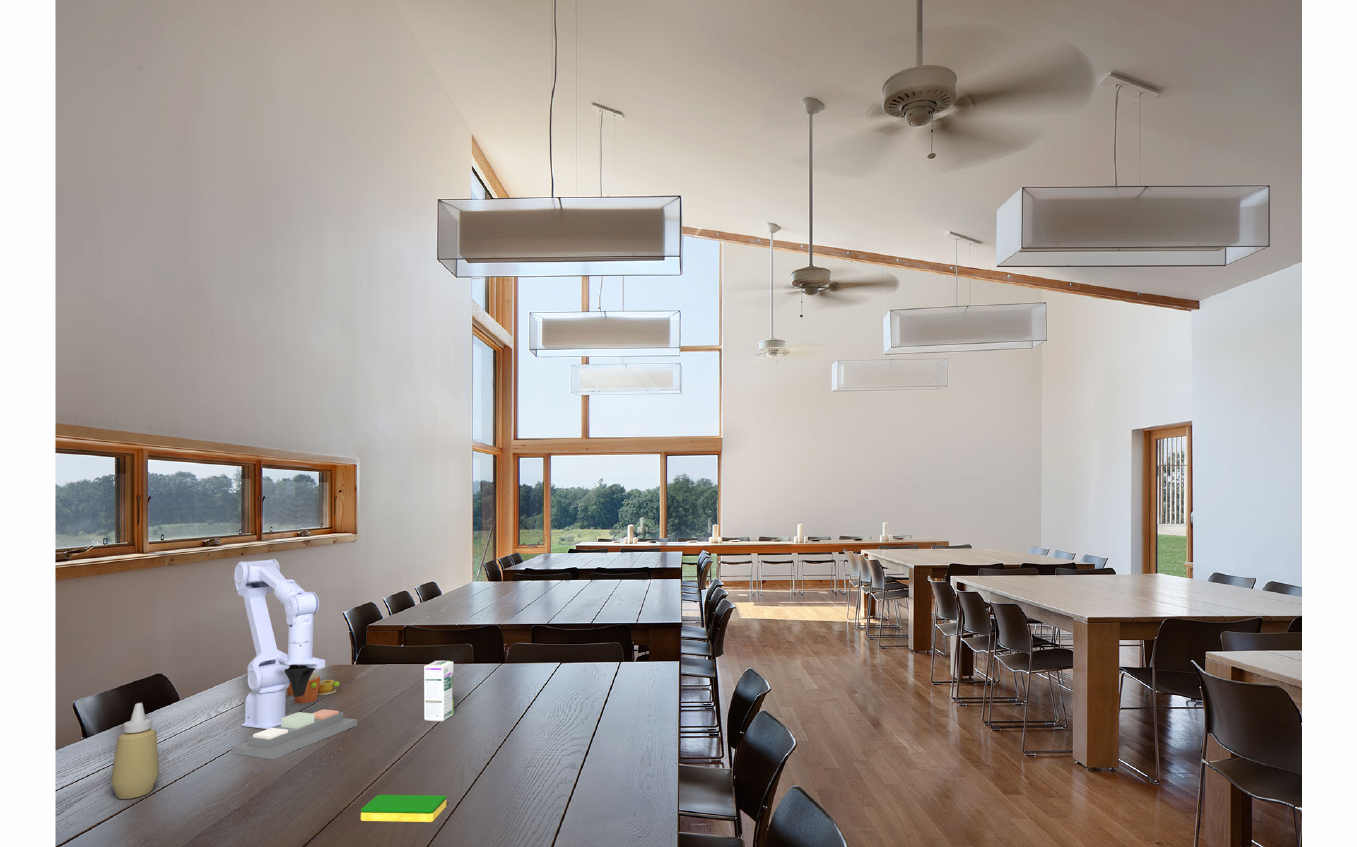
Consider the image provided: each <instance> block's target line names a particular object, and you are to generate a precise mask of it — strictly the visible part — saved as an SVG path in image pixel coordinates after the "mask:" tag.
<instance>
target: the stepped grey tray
mask: <svg viewBox="0 0 1357 847" xmlns="http://www.w3.org/2000/svg"><path fill="white" fill-rule="evenodd" d="M353 726H354V727H357V726H358V719H356V718H345V717H344V711H342V712H341V711H339V714H336V715H333V716H330V717H328V718H325V719H316V718H314V723H312V724H309V725H306V726H304V727H301V728H298V729H295V728H286V727H281V725H279V726H276V727H274V728H278V729H286V730H288V733H285V734H282V735H279V736H277V737H274V738H271V739H264V738H256V737H253V734H252V735H250V736H248V737H247V740H246V741H244V742H241V743H238V744H235V745H233V746H230V748H231V749H230V754H231V755H232V754H233V755H240V756H245V755H247V756H246V757H252V758H253V757H254V758H261V759H267V760H268V759H269V760H275V759H278V758H281V757H283V756H286V755H288V754H290V753H293V752H295V751H297V749H298V750H300V749H302V748H305V747H307V746H310V745H312V744H315V743H317V742H320V741H322V740H325V739H328V738H330V737H332V736H335V735H337V734H340V733H341V732H345V731H347V730H349V728H350V729H351V728H354V727H353ZM319 740H320V741H319ZM299 748H300V749H299ZM294 750H295V751H294ZM292 751H293V752H292Z"/></svg>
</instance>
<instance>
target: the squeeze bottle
mask: <svg viewBox="0 0 1357 847" xmlns="http://www.w3.org/2000/svg"><path fill="white" fill-rule="evenodd" d="M132 710H133V711H132V714H131V717H130V720H129V721H126V722H124V724H123V733H122V734H121V735H119V736H118V737H117V741H116V742H117V743H116V747H115V753H114V759H113V765H112V770H111V777H110V782H111V785H112V788H113V791H114V793H115V796H116V799H119V800H120V799H121V800H128V799H135V798H140V797H142V796H145V795H147V794H150V793H151V792H152V791H153V789H154V786H155V783H156V782H157V778H158V776H159V774H160V766H159V765H160V764H159V752H158V751H159V750H158V737H157V736H158V735H157V730H155V729H153V728H152V722H153V721H152V719H151V718H146V714H145V709H144V705H143V702H137V703H135V704H134V707H133V709H132Z"/></svg>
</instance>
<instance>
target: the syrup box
mask: <svg viewBox="0 0 1357 847" xmlns="http://www.w3.org/2000/svg"><path fill="white" fill-rule="evenodd" d="M423 670H424V671H423V672H424V673H423V678H424V679H423V683H424V685H423V688H424V691H423V692H424V694H423V698H424V700H423V702H424V705H423V706H424V707H423V709H424V712H423V714H424V715H423V716H424V718H423V719H424V721H431V722H444V721H446V720H447V719H448V718H450V717H452V716H454V714H455V713H454V712H455V711H454V710H455V707H454V706H455V705H454V704H455V701H454V700H455V697H454V696H455V695H454V694H455V693H454V688H455V686H454V684H455V683H454V680H455V679H454V660H434V661H433V662H430V663H429V664H427V665H424V668H423Z"/></svg>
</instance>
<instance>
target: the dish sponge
mask: <svg viewBox="0 0 1357 847" xmlns="http://www.w3.org/2000/svg"><path fill="white" fill-rule="evenodd" d="M445 808H447V795H434V794H433V795H425V794H424V795H422V794H421V795H419V794H413V795H412V794H411V795H410V794H378V795H375V797H374V798H372V799H371V800H370V801H369V802H368V803H367V804H365V805H364V806H363V807H362V808H361V809H360V821H362V822H363V821H366V822H412V823H413V822H414V823H415V822H417V823H419V822H420V823H421V822H423V823H431V822H434V821H435V820H436V818H438V816H439V815H440V814H442V812H443V811H444V810H445Z"/></svg>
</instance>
